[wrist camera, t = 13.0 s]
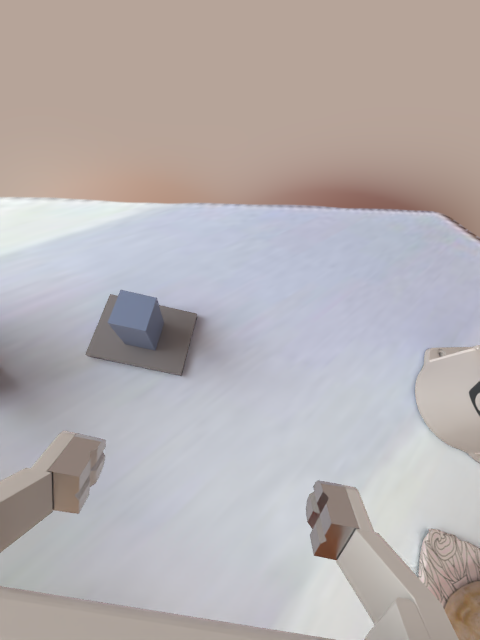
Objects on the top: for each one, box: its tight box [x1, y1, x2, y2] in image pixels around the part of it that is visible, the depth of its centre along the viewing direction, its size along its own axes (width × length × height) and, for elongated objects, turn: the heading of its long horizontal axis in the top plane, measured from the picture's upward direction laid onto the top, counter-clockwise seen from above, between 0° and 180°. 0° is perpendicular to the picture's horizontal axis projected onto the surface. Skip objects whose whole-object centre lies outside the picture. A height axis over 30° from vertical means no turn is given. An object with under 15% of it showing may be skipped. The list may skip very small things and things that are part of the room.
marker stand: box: [86, 294, 197, 376], centre depth 40 cm, size 14×10×8 cm
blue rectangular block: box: [108, 290, 164, 351], centre depth 39 cm, size 5×5×9 cm
